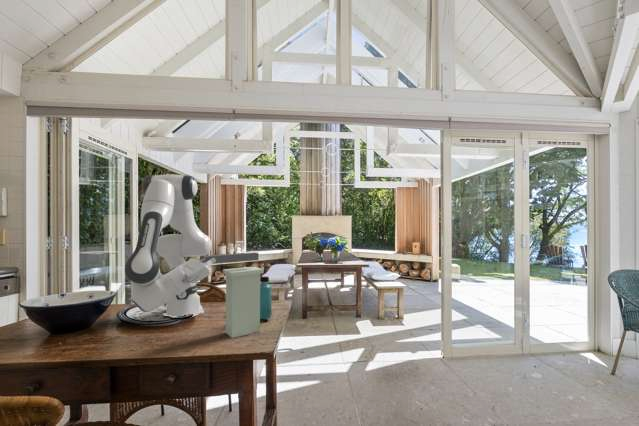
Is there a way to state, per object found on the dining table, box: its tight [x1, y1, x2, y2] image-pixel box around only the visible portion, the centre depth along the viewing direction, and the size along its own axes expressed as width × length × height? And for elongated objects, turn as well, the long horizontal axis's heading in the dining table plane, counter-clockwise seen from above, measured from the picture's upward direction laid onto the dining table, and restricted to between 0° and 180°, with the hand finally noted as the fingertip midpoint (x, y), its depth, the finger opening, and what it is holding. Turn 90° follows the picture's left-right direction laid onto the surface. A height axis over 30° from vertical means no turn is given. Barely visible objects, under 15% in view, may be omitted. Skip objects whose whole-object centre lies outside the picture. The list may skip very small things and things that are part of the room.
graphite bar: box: [202, 252, 259, 265], centre depth 131 cm, size 22×3×3 cm, turn 126°
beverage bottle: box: [260, 276, 273, 320], centre depth 150 cm, size 6×7×20 cm
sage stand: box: [222, 266, 265, 339], centre depth 134 cm, size 14×9×26 cm, turn 126°
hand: (212, 258), depth 127 cm, fingers closed on graphite bar, 3 cm apart
